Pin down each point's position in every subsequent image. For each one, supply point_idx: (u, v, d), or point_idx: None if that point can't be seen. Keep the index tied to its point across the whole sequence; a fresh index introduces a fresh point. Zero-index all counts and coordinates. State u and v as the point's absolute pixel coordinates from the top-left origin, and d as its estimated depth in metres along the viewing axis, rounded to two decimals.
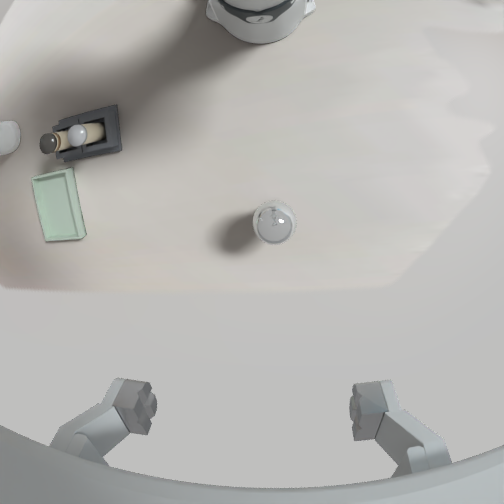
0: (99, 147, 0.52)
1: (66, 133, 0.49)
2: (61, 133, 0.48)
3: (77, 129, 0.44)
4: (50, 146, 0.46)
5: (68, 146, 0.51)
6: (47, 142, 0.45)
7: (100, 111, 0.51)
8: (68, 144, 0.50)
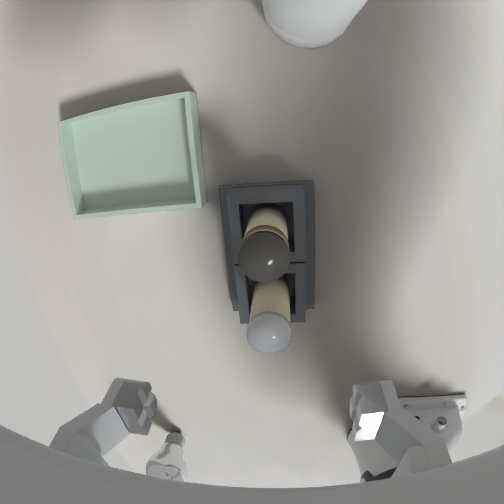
0: (241, 301, 0.32)
1: None
2: None
3: (280, 341, 0.26)
4: (255, 271, 0.23)
5: None
6: (267, 262, 0.23)
7: (308, 283, 0.34)
8: None
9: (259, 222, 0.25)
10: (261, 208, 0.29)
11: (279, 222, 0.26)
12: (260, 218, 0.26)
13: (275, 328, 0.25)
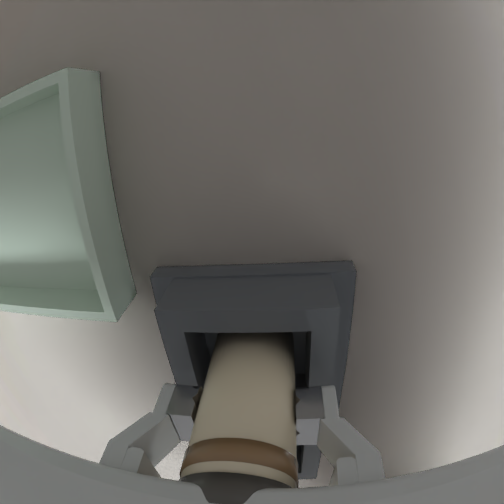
0: None
1: None
2: None
3: None
4: None
5: None
6: None
7: None
8: None
9: (224, 416, 0.09)
10: (238, 336, 0.12)
11: (277, 400, 0.10)
12: (230, 394, 0.10)
13: None
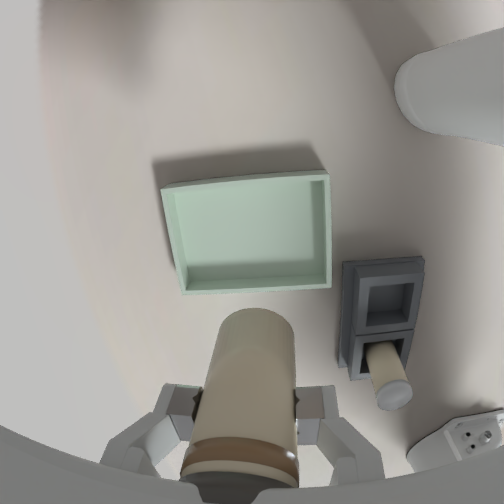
0: (355, 363, 0.33)
1: None
2: None
3: (403, 400, 0.27)
4: None
5: None
6: None
7: None
8: None
9: (225, 415, 0.09)
10: (238, 335, 0.12)
11: (278, 399, 0.10)
12: (231, 393, 0.10)
13: (402, 392, 0.26)
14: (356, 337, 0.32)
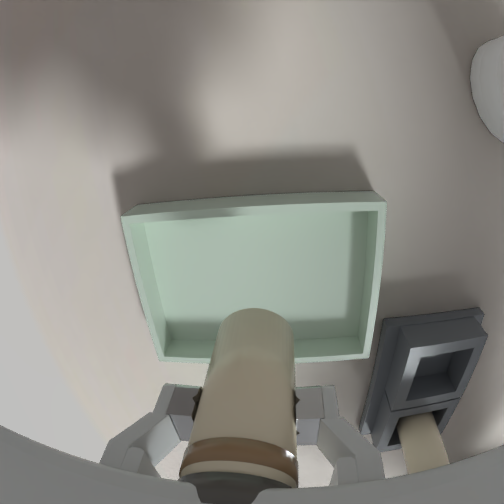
0: (384, 437, 0.23)
1: None
2: None
3: None
4: None
5: None
6: None
7: None
8: None
9: (224, 415, 0.09)
10: (238, 335, 0.12)
11: (277, 400, 0.10)
12: (230, 393, 0.10)
13: None
14: (391, 412, 0.21)
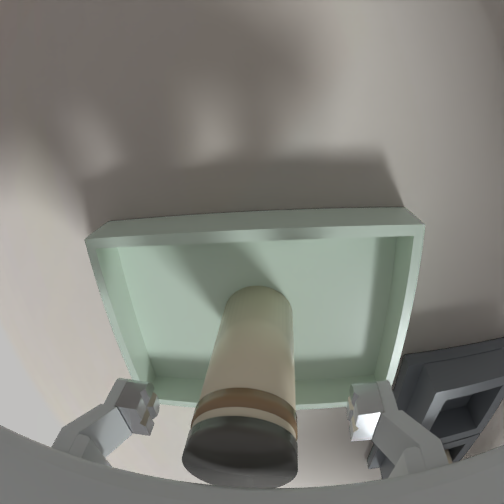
0: None
1: None
2: None
3: None
4: (222, 479, 0.09)
5: None
6: (246, 473, 0.09)
7: None
8: None
9: (231, 371, 0.11)
10: (243, 307, 0.14)
11: (278, 359, 0.11)
12: (236, 353, 0.11)
13: None
14: None
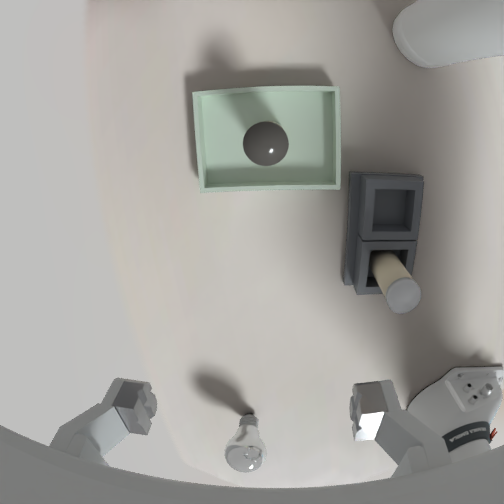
0: (362, 273, 0.36)
1: None
2: None
3: (412, 302, 0.29)
4: (258, 154, 0.25)
5: None
6: (268, 147, 0.25)
7: None
8: None
9: None
10: None
11: None
12: None
13: (411, 291, 0.29)
14: (363, 242, 0.34)
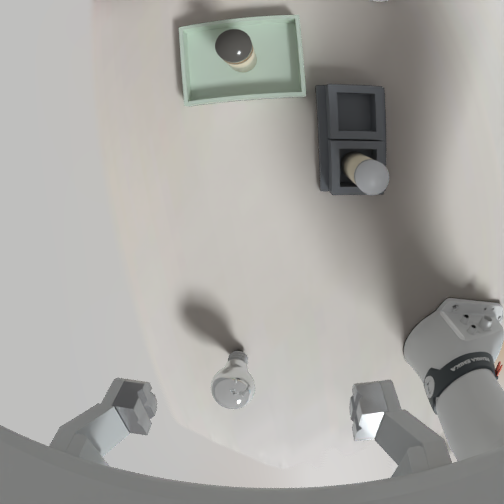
0: (334, 172, 0.38)
1: (249, 63, 0.32)
2: (249, 60, 0.31)
3: (381, 183, 0.31)
4: (227, 53, 0.28)
5: (227, 63, 0.33)
6: (235, 46, 0.27)
7: None
8: (230, 65, 0.32)
9: None
10: None
11: None
12: None
13: (378, 170, 0.31)
14: (331, 141, 0.36)
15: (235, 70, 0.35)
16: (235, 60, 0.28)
